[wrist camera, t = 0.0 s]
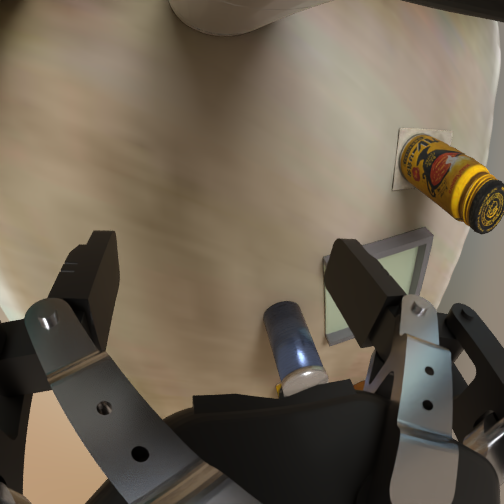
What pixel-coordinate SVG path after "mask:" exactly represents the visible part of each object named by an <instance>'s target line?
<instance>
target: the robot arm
mask: <svg viewBox="0 0 504 504" xmlns="http://www.w3.org/2000/svg"><path fill="white" fill-rule="evenodd" d="M168 1H169V3H170V6H171V8H172V9H173V11H174V13H175V14H176V16H177V17H178V18H179V19H180V20H181V21H182V22H183V23H185V24H186V25H188V26H189V27H191V28H193V29H194V30H197V31H199V32H202V33H205V34H209V35H215V36H234V35H241V34H244V33H248V32H250V31H253V30H255V29H258V28H260V27H263V26H265V25H267V24H270V23H272V22H274V21H277V20H279V19H282V18H284V17H287V16H290V15H292V14H295V13H298V12H300V11H303V10H306V9H309V8H312V7H315V6H318V5H321V4H324V3H327V2H330V1H333V0H168ZM402 1H406V2H410V3H414V4H418V5H422V6H426V7H430V8H435V9H440V10H444V11H448V12H454V13H459V14H464V15H469V16H475V17H480V18H485V19H490V20H495V21H500V22H504V0H402ZM119 281H120V271H119V261H118V251H117V240H116V233H115V231H93V233H92V235H91V237H90V239H89V241H88V243H87V245H78V246H77V247H76V248H75V249H73V250H72V251H71V252H70V253H69V255H68V257H67V259H66V261H65V264H63V266H62V268H61V272H59V274H58V276H57V278H56V281H55V283H54V285H53V287H52V289H51V291H50V293H49V295H48V298H46V299H43V300H40V301H38V302H36V303H35V304H33V305H32V306H31V307H30V308H29V309H28V311H27V312H26V314H25V318H24V319H21V320H16V321H10V322H5V323H1V321H0V504H31V502H30V501H29V500H28V499H27V498H26V497H25V496H23V469H24V454H25V444H26V434H27V426H28V420H29V413H30V407H31V401H32V396H33V393H37V392H43V391H49V390H53V392H54V394H55V396H56V398H57V400H58V402H59V403H60V405H61V407H62V409H63V411H64V412H65V414H66V416H67V418H68V419H69V421H70V423H71V424H72V426H73V428H74V429H75V431H76V433H77V434H78V436H79V437H80V439H81V441H82V442H83V443H84V445H85V447H86V448H87V450H88V451H89V453H90V454H91V456H92V457H93V458H94V460H95V461H96V463H97V464H98V465H99V467H100V468H101V469H102V471H103V472H104V473H105V475H106V476H107V477H108V479H107V480H106V481H105V482H104V483H103V484H102V486H101V487H100V488H99V489H98V490H97V491H96V492H95V493H94V494H93V496H92V497H91V498H90V499H89V500H88V501H87V502H86V503H85V504H500V485H502V484H503V483H504V348H503V347H502V346H501V344H500V343H499V342H498V340H497V339H496V337H495V336H494V335H493V334H492V332H491V331H490V330H489V329H488V327H487V326H486V325H485V323H484V322H483V321H482V320H481V318H480V317H479V316H478V315H477V313H476V312H475V311H474V310H472V309H471V308H470V307H468V306H466V305H464V304H461V303H456V304H454V305H453V306H452V308H451V309H450V311H449V313H448V314H444V313H437V311H436V309H435V308H434V306H433V305H432V304H431V303H430V302H429V301H427V300H426V299H424V298H423V297H420V296H418V295H413V294H409V295H407V294H406V293H405V292H404V290H403V289H402V288H401V287H400V286H399V284H398V283H397V282H396V281H395V280H394V278H393V277H392V276H391V275H389V273H388V271H387V270H386V269H384V267H383V266H382V264H381V263H380V262H379V261H378V260H377V259H376V258H374V257H373V256H372V255H370V254H369V253H368V252H367V251H366V250H365V249H364V247H363V246H362V245H361V244H360V243H359V242H358V241H357V240H356V239H337V240H336V241H335V242H334V244H333V248H332V251H331V254H330V257H329V260H328V263H327V267H326V270H325V273H324V284H325V287H326V289H327V291H328V292H329V294H330V296H331V297H332V299H333V301H334V302H335V304H336V306H337V308H338V309H339V311H340V313H341V314H342V316H343V318H344V320H345V321H346V323H347V325H348V327H349V328H350V330H351V332H352V334H353V335H354V337H355V339H356V341H357V342H358V344H359V346H360V348H365V347H371V346H374V347H375V350H374V352H373V353H372V355H371V359H370V364H369V368H368V372H367V376H366V380H365V384H364V388H363V391H362V390H355V389H354V387H353V385H352V382H351V380H350V379H347V380H342V381H336V382H331V383H325V384H318V385H315V386H312V387H310V388H308V389H305V390H303V391H300V392H298V393H295V394H293V395H290V396H288V397H285V398H282V399H273V398H264V397H256V396H248V395H240V394H223V395H198V396H193V407H192V408H188V409H184V410H182V411H179V412H176V413H174V414H172V415H170V416H168V417H166V418H165V419H163V420H162V419H161V418H160V417H159V416H158V414H157V413H156V412H155V411H154V410H153V409H152V408H151V407H150V405H149V404H148V403H147V402H146V401H145V400H144V399H143V397H142V396H141V395H140V394H139V393H138V391H137V390H136V389H135V388H134V387H133V385H132V384H131V383H130V382H129V380H128V379H127V378H126V377H125V375H124V374H123V373H122V372H121V370H120V369H119V368H118V366H117V365H116V364H115V362H114V361H113V360H112V358H111V357H110V356H109V355H108V353H107V352H106V346H107V340H108V335H109V330H110V325H111V320H112V315H113V310H114V306H115V301H116V297H117V292H118V288H119ZM463 350H465V351H466V353H467V354H468V356H469V357H470V359H471V360H472V362H473V363H474V365H475V367H476V376H475V379H474V380H473V381H472V382H471V383H470V384H469V386H468V385H467V383H466V382H465V380H464V378H463V377H462V375H461V374H460V372H459V371H458V369H457V367H456V366H455V364H454V362H455V360H456V359H457V358H458V356H459V355H460V354H461V352H462V351H463ZM452 429H453V431H454V433H455V435H456V437H457V439H458V441H459V442H458V441H456V440H454V439H453V438H452Z"/></svg>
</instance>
